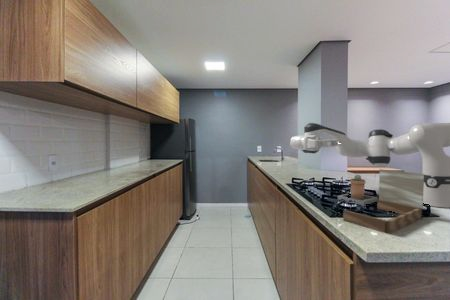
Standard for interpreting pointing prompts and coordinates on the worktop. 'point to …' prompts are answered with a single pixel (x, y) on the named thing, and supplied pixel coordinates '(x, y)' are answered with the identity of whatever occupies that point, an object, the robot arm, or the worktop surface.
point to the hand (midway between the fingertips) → (336, 143)
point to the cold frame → (394, 201)
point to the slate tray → (363, 203)
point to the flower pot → (357, 187)
